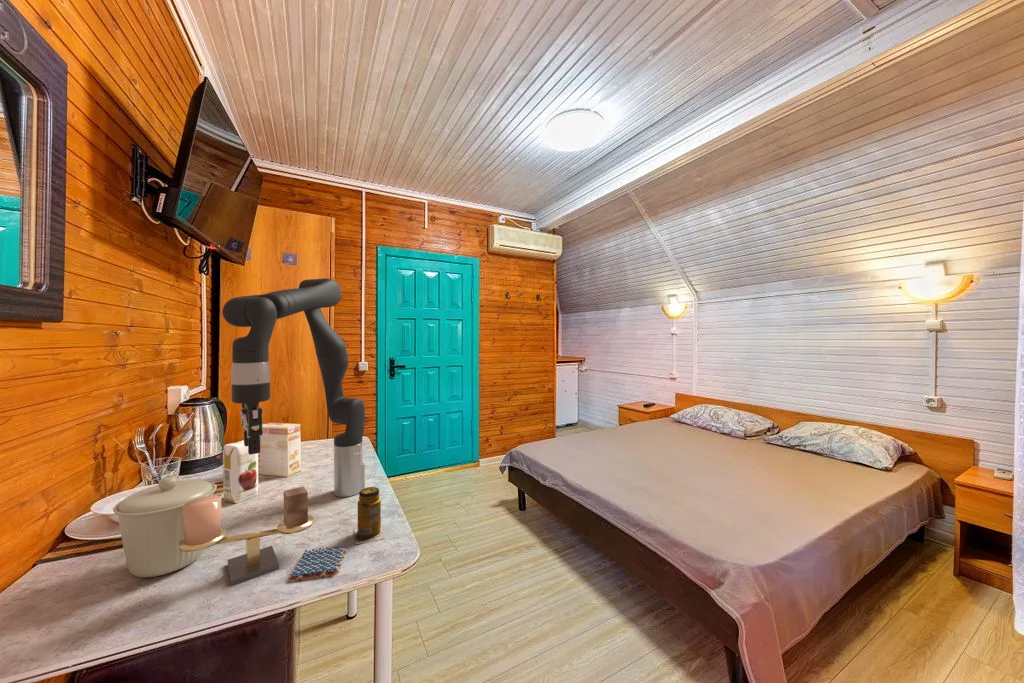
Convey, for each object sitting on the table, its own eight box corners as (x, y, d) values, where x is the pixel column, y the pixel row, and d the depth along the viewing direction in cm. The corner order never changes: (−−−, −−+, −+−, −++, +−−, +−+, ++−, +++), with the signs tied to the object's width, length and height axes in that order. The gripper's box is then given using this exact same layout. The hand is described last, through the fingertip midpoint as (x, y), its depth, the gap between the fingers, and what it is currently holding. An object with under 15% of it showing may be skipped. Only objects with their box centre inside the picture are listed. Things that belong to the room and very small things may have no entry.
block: (303, 516, 96) (303, 486, 96) (307, 522, 93) (307, 491, 92) (283, 522, 93) (283, 491, 93) (287, 529, 90) (287, 496, 90)
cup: (220, 527, 85) (220, 493, 85) (222, 538, 80) (222, 502, 80) (183, 537, 81) (183, 501, 81) (183, 549, 76) (183, 511, 76)
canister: (157, 594, 78) (156, 495, 77) (90, 584, 81) (89, 489, 81) (235, 546, 95) (234, 466, 95) (178, 539, 99) (177, 462, 98)
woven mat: (287, 585, 81) (287, 576, 81) (302, 557, 91) (302, 549, 91) (337, 578, 83) (337, 569, 83) (347, 551, 94) (347, 544, 94)
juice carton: (220, 501, 121) (219, 444, 121) (247, 491, 129) (246, 438, 129) (234, 505, 119) (234, 447, 118) (261, 494, 127) (261, 440, 126)
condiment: (381, 524, 107) (380, 483, 106) (384, 538, 99) (384, 494, 99) (354, 530, 103) (353, 488, 103) (355, 545, 96) (355, 500, 96)
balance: (308, 538, 99) (308, 500, 99) (318, 554, 92) (318, 513, 92) (179, 580, 82) (179, 535, 82) (178, 604, 74) (178, 554, 74)
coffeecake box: (301, 471, 149) (301, 423, 149) (287, 477, 142) (286, 427, 142) (271, 468, 153) (271, 421, 153) (256, 474, 146) (255, 425, 146)
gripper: (275, 382, 84) (275, 453, 84) (265, 377, 94) (265, 440, 94) (234, 385, 79) (234, 460, 79) (228, 380, 89) (229, 445, 89)
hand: (251, 449), depth 87 cm, fingers open, 8 cm apart
